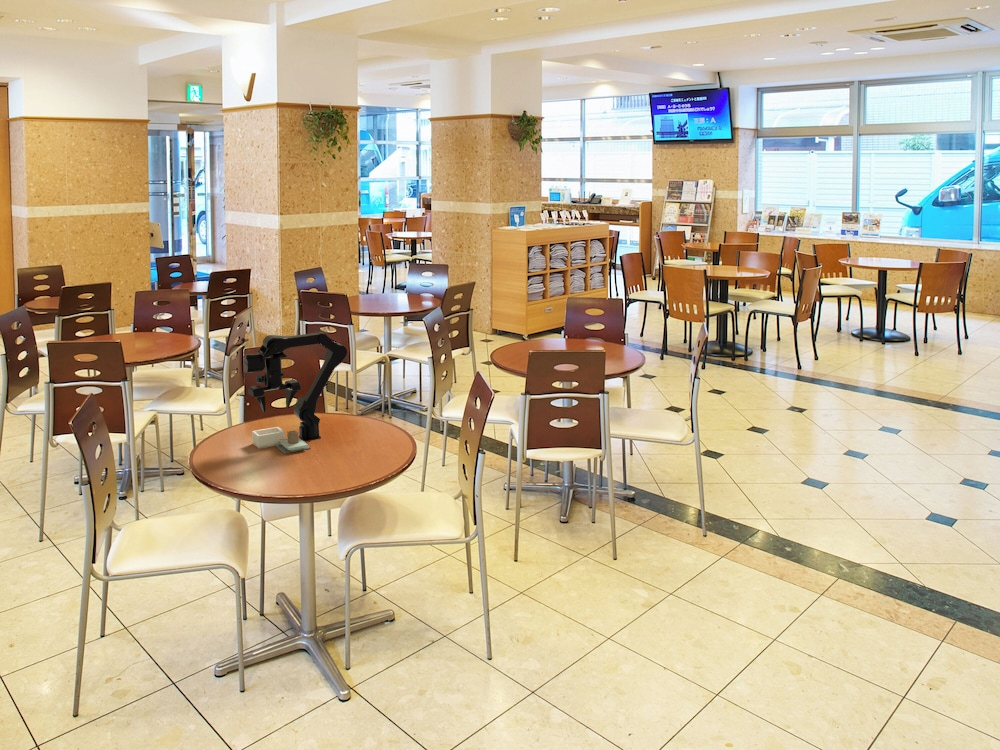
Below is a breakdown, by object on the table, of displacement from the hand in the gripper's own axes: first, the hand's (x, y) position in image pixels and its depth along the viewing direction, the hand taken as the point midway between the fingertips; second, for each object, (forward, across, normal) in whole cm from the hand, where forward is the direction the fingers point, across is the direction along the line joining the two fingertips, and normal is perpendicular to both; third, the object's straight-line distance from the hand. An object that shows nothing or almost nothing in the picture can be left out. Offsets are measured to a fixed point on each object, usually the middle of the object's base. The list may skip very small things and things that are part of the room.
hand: (275, 410), depth 325 cm
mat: (+13, -2, +9) cm, 16 cm away
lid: (+11, -2, +10) cm, 15 cm away
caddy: (+13, +3, 0) cm, 13 cm away
